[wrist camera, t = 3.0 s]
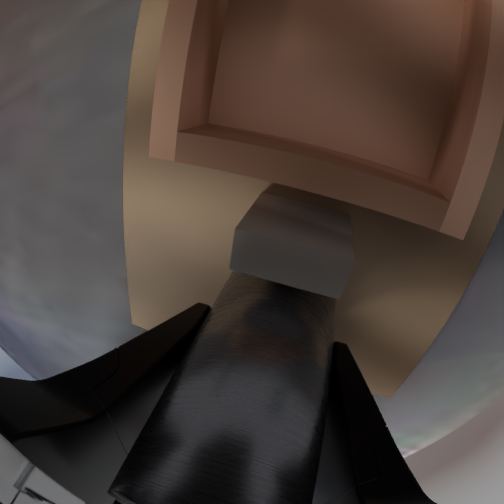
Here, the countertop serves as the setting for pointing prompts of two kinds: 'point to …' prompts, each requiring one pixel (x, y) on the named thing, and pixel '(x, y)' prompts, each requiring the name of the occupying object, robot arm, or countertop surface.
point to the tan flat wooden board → (316, 160)
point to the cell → (240, 404)
